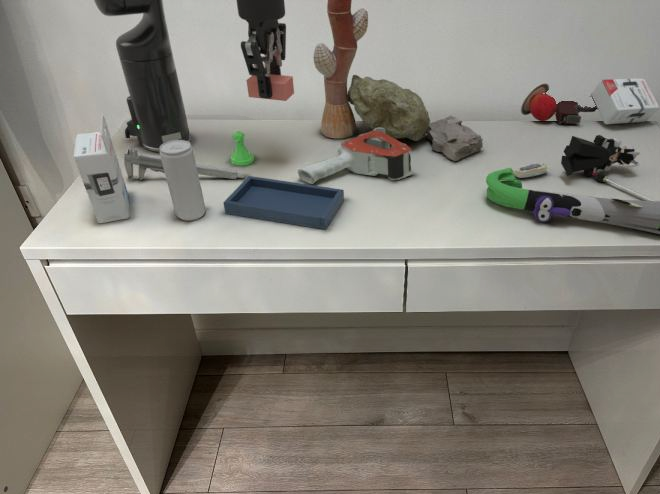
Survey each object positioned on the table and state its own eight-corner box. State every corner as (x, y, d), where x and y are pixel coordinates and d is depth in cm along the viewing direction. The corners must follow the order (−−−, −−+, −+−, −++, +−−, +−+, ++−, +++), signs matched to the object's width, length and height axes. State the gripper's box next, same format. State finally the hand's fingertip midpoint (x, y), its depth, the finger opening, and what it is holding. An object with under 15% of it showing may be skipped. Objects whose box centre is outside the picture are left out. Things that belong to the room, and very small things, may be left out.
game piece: (258, 158, 107) (254, 129, 103) (244, 167, 104) (239, 137, 100) (241, 153, 108) (236, 124, 104) (226, 162, 105) (221, 132, 102)
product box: (98, 198, 94) (68, 115, 85) (129, 194, 96) (103, 111, 86) (97, 224, 88) (65, 137, 79) (130, 219, 89) (102, 132, 80)
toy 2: (627, 177, 85) (704, 175, 89) (562, 129, 100) (631, 129, 104) (610, 220, 90) (684, 216, 94) (550, 168, 105) (617, 167, 109)
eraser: (286, 101, 96) (284, 83, 94) (248, 97, 97) (246, 79, 95) (294, 93, 99) (292, 76, 97) (257, 89, 100) (255, 72, 98)
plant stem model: (317, 138, 114) (307, -26, 95) (319, 124, 119) (309, -34, 100) (368, 138, 114) (368, -26, 95) (367, 124, 120) (367, -33, 101)
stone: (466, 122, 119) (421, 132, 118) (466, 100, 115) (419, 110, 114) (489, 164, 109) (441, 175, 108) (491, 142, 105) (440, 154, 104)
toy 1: (669, 243, 87) (479, 217, 92) (660, 207, 95) (486, 185, 100) (683, 210, 83) (483, 185, 88) (672, 175, 91) (490, 154, 96)
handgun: (664, 129, 123) (639, 103, 134) (669, 117, 121) (643, 91, 132) (557, 126, 121) (540, 99, 133) (560, 113, 120) (543, 87, 131)
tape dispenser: (296, 192, 100) (405, 198, 96) (291, 166, 96) (404, 171, 93) (323, 146, 113) (420, 150, 109) (320, 122, 109) (419, 125, 106)
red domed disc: (550, 91, 126) (570, 108, 123) (524, 118, 128) (543, 135, 125) (542, 76, 119) (563, 93, 116) (515, 104, 121) (535, 122, 118)
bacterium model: (504, 179, 98) (488, 169, 102) (503, 188, 99) (487, 178, 103) (557, 167, 102) (540, 158, 105) (556, 176, 103) (539, 167, 106)
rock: (404, 66, 121) (339, 83, 120) (423, 52, 103) (346, 71, 102) (420, 137, 126) (356, 153, 124) (441, 135, 107) (367, 154, 106)
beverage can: (179, 207, 93) (162, 139, 85) (208, 206, 93) (194, 139, 85) (173, 222, 89) (155, 153, 81) (203, 221, 89) (188, 152, 82)
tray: (225, 213, 91) (223, 202, 90) (250, 186, 98) (248, 175, 97) (325, 229, 88) (325, 218, 87) (344, 200, 95) (343, 189, 94)
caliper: (129, 181, 99) (119, 148, 95) (130, 178, 100) (121, 145, 96) (244, 179, 100) (238, 147, 96) (244, 176, 101) (239, 144, 97)
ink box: (603, 78, 119) (645, 77, 123) (589, 94, 123) (630, 92, 127) (619, 109, 116) (661, 108, 120) (604, 125, 120) (645, 122, 124)
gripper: (262, -5, 81) (275, 110, 92) (296, -23, 91) (304, 81, 102) (215, -8, 82) (234, 105, 93) (254, -26, 93) (267, 78, 104)
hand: (271, 92), depth 98 cm, fingers closed on eraser, 4 cm apart
